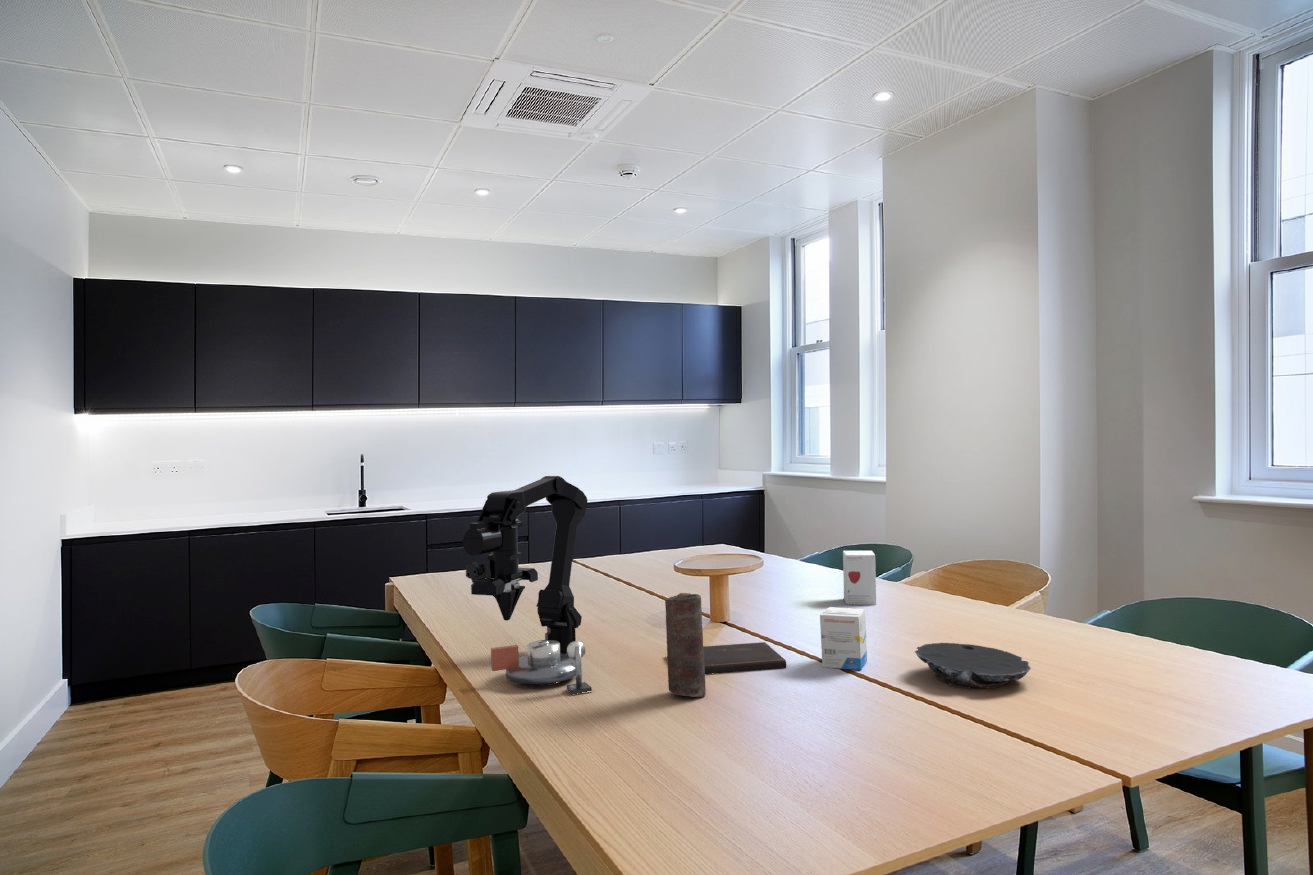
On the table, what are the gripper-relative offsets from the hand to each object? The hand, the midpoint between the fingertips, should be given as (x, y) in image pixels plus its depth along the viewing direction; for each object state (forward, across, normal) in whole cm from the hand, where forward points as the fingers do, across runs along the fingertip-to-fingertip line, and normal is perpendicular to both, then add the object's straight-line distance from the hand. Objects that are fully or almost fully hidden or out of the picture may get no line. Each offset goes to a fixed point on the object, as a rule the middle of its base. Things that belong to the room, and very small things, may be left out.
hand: (506, 620), depth 175 cm
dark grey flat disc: (+12, -23, +95) cm, 99 cm away
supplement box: (+12, -93, +65) cm, 114 cm away
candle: (+12, +3, +42) cm, 44 cm away
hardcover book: (+13, -21, +44) cm, 50 cm away
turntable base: (+12, +1, +9) cm, 15 cm away
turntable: (+11, +1, +9) cm, 14 cm away
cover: (+9, 0, +9) cm, 13 cm away
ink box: (+12, -27, +69) cm, 75 cm away
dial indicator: (+12, +5, +20) cm, 24 cm away
